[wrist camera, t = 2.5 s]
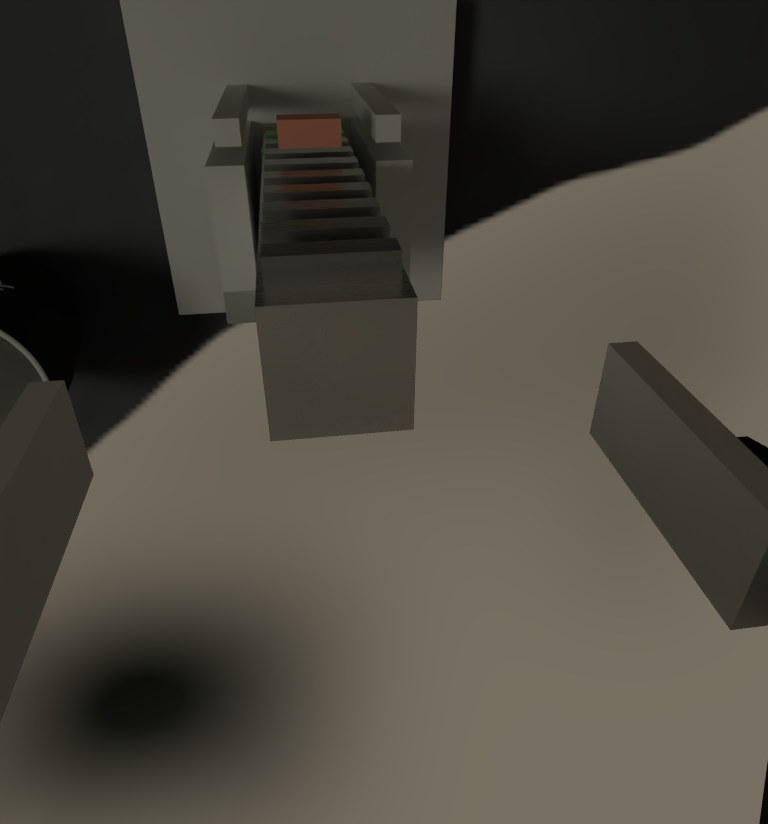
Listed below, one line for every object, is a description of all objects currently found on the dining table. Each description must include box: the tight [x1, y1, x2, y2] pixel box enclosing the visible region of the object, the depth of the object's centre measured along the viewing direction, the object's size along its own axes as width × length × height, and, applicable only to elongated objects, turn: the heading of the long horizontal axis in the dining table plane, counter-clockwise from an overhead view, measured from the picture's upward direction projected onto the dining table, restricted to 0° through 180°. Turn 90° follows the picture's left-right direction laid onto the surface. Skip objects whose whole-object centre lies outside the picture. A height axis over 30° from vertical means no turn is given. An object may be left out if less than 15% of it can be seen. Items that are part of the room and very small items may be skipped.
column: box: [255, 123, 418, 441], centre depth 26 cm, size 5×4×22 cm
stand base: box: [120, 0, 457, 324], centre depth 32 cm, size 16×16×13 cm
